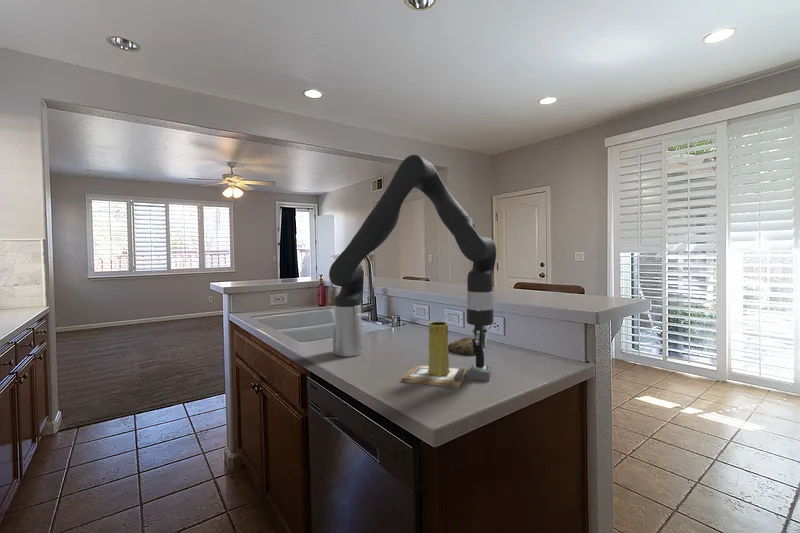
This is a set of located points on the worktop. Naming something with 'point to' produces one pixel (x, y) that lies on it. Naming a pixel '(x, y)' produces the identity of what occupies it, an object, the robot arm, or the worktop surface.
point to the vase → (438, 349)
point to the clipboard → (423, 377)
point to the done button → (479, 368)
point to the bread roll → (462, 346)
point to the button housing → (479, 373)
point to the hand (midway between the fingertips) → (480, 366)
